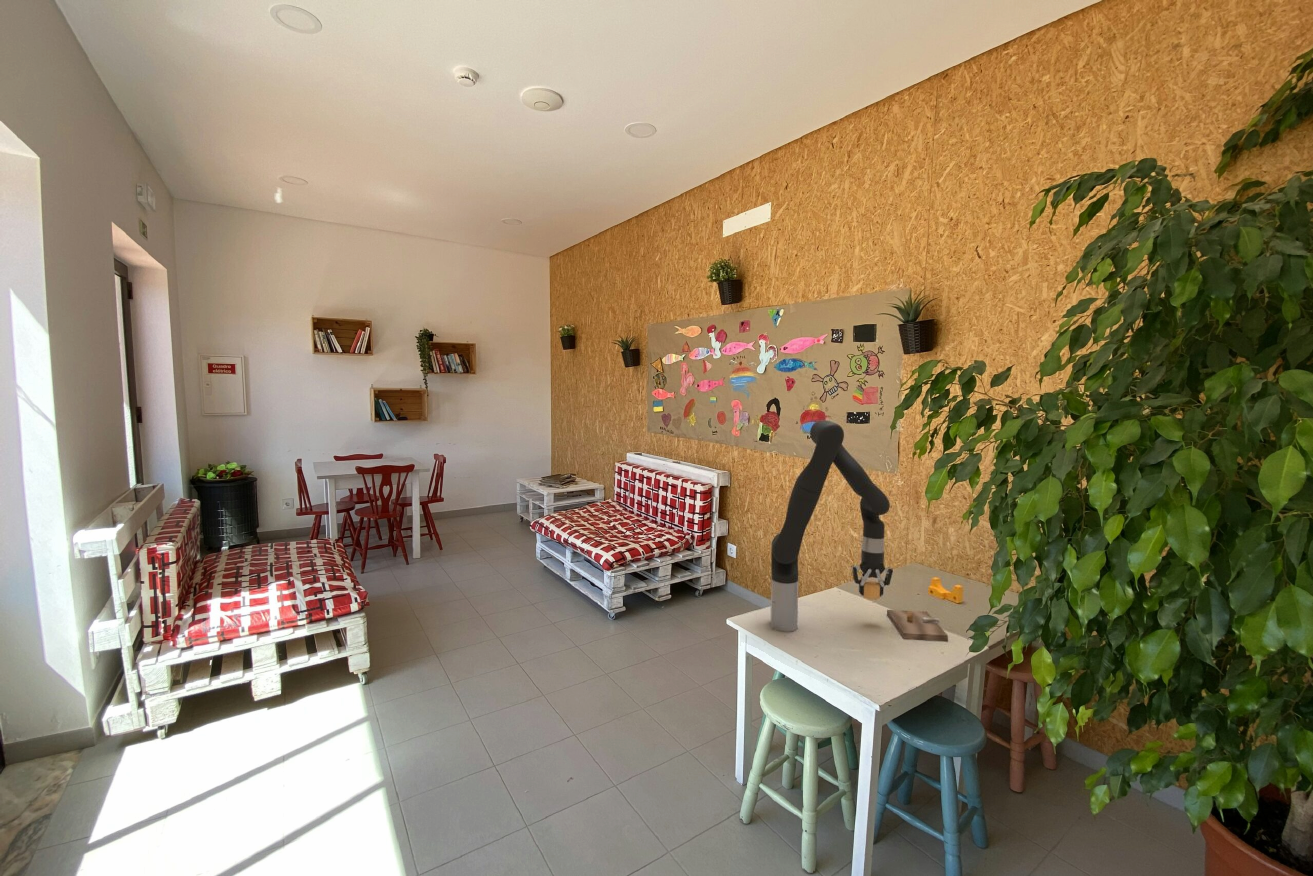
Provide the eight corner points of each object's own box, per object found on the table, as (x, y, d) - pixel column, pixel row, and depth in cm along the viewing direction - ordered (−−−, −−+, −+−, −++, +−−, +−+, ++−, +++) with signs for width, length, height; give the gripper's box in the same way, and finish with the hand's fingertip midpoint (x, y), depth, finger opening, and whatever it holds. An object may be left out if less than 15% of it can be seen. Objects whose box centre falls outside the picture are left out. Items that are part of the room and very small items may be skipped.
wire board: (903, 638, 181) (903, 623, 181) (886, 614, 201) (887, 600, 200) (949, 641, 179) (949, 625, 178) (928, 616, 199) (928, 602, 198)
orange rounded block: (864, 599, 189) (865, 585, 189) (861, 593, 195) (861, 580, 194) (880, 600, 188) (881, 586, 188) (876, 594, 194) (877, 581, 193)
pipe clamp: (928, 594, 222) (928, 578, 221) (935, 592, 224) (935, 577, 223) (954, 604, 211) (955, 588, 211) (962, 602, 213) (962, 586, 212)
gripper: (854, 551, 187) (852, 598, 189) (897, 553, 185) (895, 600, 187) (849, 545, 195) (847, 590, 196) (891, 547, 193) (888, 592, 194)
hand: (870, 595), depth 191 cm, fingers closed on orange rounded block, 5 cm apart
